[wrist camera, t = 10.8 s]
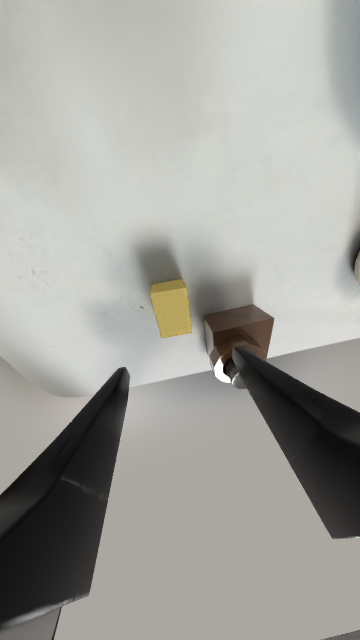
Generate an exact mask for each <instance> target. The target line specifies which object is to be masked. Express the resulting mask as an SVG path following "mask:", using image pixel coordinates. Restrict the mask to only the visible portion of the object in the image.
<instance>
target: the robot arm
mask: <svg viewBox="0 0 360 640" xmlns="http://www.w3.org/2000/svg"><path fill="white" fill-rule="evenodd" d="M232 358H233V360H234V363H235V365H236V367H237V370H238V372H239V374H240V376H241V379H242V380H243V382H244V384H245V386H246V388H247V389H248V391H249V393H250V395H251V396H252V398H253V400H254V402H255V403H256V405H257V407H258V409H259V410H260V412H261V414H262V416H263V418H264V419H265V421H266V423H267V425H268V426H269V428H270V430H271V432H272V433H273V435H274V437H275V439H276V440H277V442H278V444H279V446H280V447H281V449H282V451H283V453H284V454H285V456H286V458H287V460H288V461H289V463H290V465H291V467H292V469H293V470H294V472H295V474H296V476H297V478H298V479H299V481H300V483H301V485H302V486H303V488H304V490H305V492H306V493H307V495H308V497H309V499H310V500H311V502H312V504H313V506H314V508H315V509H316V511H317V513H318V515H319V516H320V518H321V520H322V522H323V523H324V525H325V527H326V529H327V530H328V532H329V534H330V535H331V537H332V538H333V539H343V538H360V413H359V412H357V411H356V410H354V409H352V408H350V407H348V406H346V405H344V404H342V403H339V402H338V401H336V400H334V399H332V398H330V397H328V396H326V395H324V394H322V393H320V392H318V391H316V390H315V389H313V388H311V387H309V386H307V385H306V384H304V383H302V382H300V381H299V380H297V379H294V378H293V377H292V376H290V375H288V374H286V373H285V372H283V371H281V370H279V369H278V368H276V367H274V366H273V365H271V364H269V363H268V362H266V361H264V360H262V359H261V358H259V357H257V356H255V355H254V354H252V353H250V352H249V351H247V350H245V349H243V348H242V347H240V346H235V347H233V350H232ZM129 381H130V375H129V373H128V371H127V369H126V367H122V368H119V369H118V370H117V371H116V372H115V373H114V374H113V375H112V376H111V377H110V378H109V380H108V381H107V382H106V383H105V384H104V385H103V386H102V387H101V389H100V390H99V391H98V392H97V393H96V394H95V395H94V397H93V398H92V399H91V400H90V401H89V402H88V403H87V404H86V405H85V407H84V408H83V409H82V410H81V411H80V412H79V413H78V414H77V416H76V417H75V418H74V419H73V420H72V422H70V423H69V425H68V426H67V427H66V428H65V429H64V430H63V431H62V432H61V433H60V435H59V436H58V437H57V438H56V439H55V440H54V441H53V442H52V443H51V444H50V445H49V446H48V447H47V448H46V450H45V451H43V453H41V454H40V455H39V456H38V458H37V459H36V460H35V461H34V462H33V463H32V464H31V465H30V466H29V467H28V468H27V469H26V470H25V471H24V472H23V473H22V474H21V475H20V476H19V477H18V478H17V479H16V480H15V481H14V482H13V483H12V484H11V485H10V486H9V487H8V488H7V489H6V490H5V491H4V492H3V493H2V494H1V495H0V640H54V635H55V631H56V628H57V624H58V620H59V616H60V612H61V608H62V606H64V605H66V604H69V603H71V602H74V601H76V600H79V599H81V598H84V597H86V596H88V595H89V592H90V588H91V583H92V578H93V573H94V568H95V563H96V558H97V553H98V548H99V543H100V538H101V533H102V528H103V523H104V517H105V513H106V508H107V503H108V497H109V492H110V487H111V482H112V476H113V472H114V467H115V462H116V456H117V452H118V447H119V442H120V436H121V432H122V427H123V421H124V417H125V411H126V406H127V401H128V391H129ZM323 640H360V630H358V631H354V632H350V633H346V634H342V635H338V636H334V637H330V638H327V639H323Z"/></svg>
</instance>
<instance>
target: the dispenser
mask: <svg viewBox="0 0 360 640" xmlns="http://www.w3.org/2000/svg"><path fill="white" fill-rule="evenodd" d="M203 318H204V327H205V335H206V344H207V352H208V355H209V358H210V365H211V368H212V370H213V373H214V375H215V376H216V377H217V378H218V379H219V380H220V381H222V382H228V383H231V381H230V379H229V377H228V375H227V373H226V371H225V369H224V364H225V363H226V361H227V360H228V359H229V358H231V357H232V350H233V347H235V346H240V347H242V348H243V349H245V350H247V351H249V352H250V353H252V354H254V355H255V356H257V357H259V358H261V359H262V360H264V361H266V358H267V353H268V348H269V343H270V338H271V333H272V328H273V323H274V318H273V317H272V316H270V315H269V314H267V313H266V312H264V311H262V310H261V309H259V308H258V307H256V306H255V305H250V306H245V307H241V308H236V309H232V310H227V311H223V312H218V313H214V314H209V315H205V316H203Z"/></svg>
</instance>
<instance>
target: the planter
mask: <svg viewBox="0 0 360 640" xmlns="http://www.w3.org/2000/svg"><path fill="white" fill-rule="evenodd" d="M355 276H356V279H357V281H358V282H359V283H360V252H359V254H358V256H357V259H356V262H355Z"/></svg>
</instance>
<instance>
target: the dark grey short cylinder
mask: <svg viewBox="0 0 360 640" xmlns="http://www.w3.org/2000/svg"><path fill="white" fill-rule="evenodd" d="M224 369H225V371H226V373H227V375H228V377H229V379H230V381H231V383H232V385H233V386H234V387H235V388H238V389H246V386H245V384H244V382H243V380H242V379H241V376H240V374H239V372H238V370H237V367H236V365H235V363H234V360H233V358H232V357H231V358H229V359H228V360H227V361H226V363H225V364H224Z"/></svg>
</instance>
